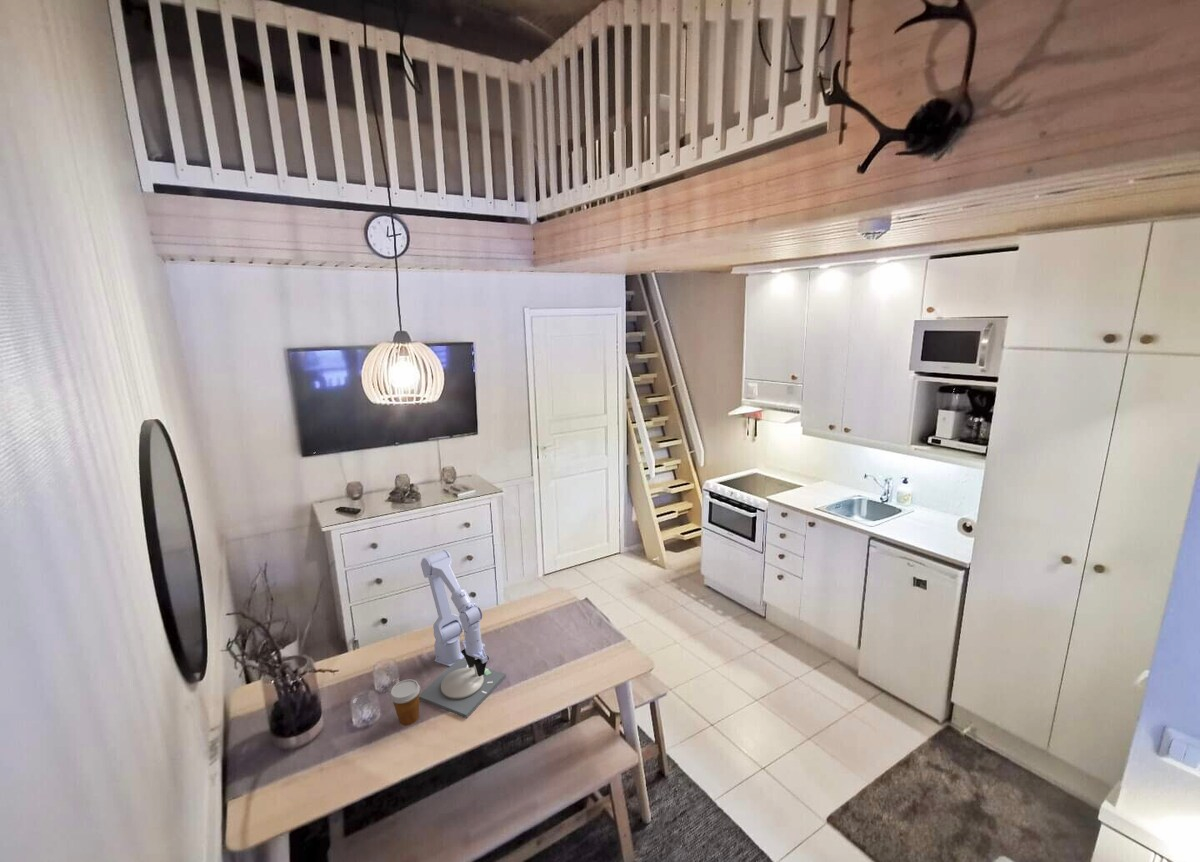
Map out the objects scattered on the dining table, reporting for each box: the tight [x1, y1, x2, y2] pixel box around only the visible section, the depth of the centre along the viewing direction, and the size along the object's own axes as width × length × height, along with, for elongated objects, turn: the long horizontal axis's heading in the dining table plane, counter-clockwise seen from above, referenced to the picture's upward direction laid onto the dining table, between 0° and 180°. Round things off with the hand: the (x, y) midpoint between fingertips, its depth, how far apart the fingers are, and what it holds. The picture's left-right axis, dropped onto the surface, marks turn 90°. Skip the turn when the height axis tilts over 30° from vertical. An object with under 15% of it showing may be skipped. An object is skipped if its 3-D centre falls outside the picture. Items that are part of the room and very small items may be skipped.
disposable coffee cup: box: [389, 678, 421, 727], centre depth 178 cm, size 10×10×12 cm
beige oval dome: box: [441, 665, 489, 699], centre depth 192 cm, size 18×15×6 cm
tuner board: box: [419, 658, 507, 720], centre depth 193 cm, size 22×22×2 cm
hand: (476, 670), depth 196 cm, fingers open, 6 cm apart
